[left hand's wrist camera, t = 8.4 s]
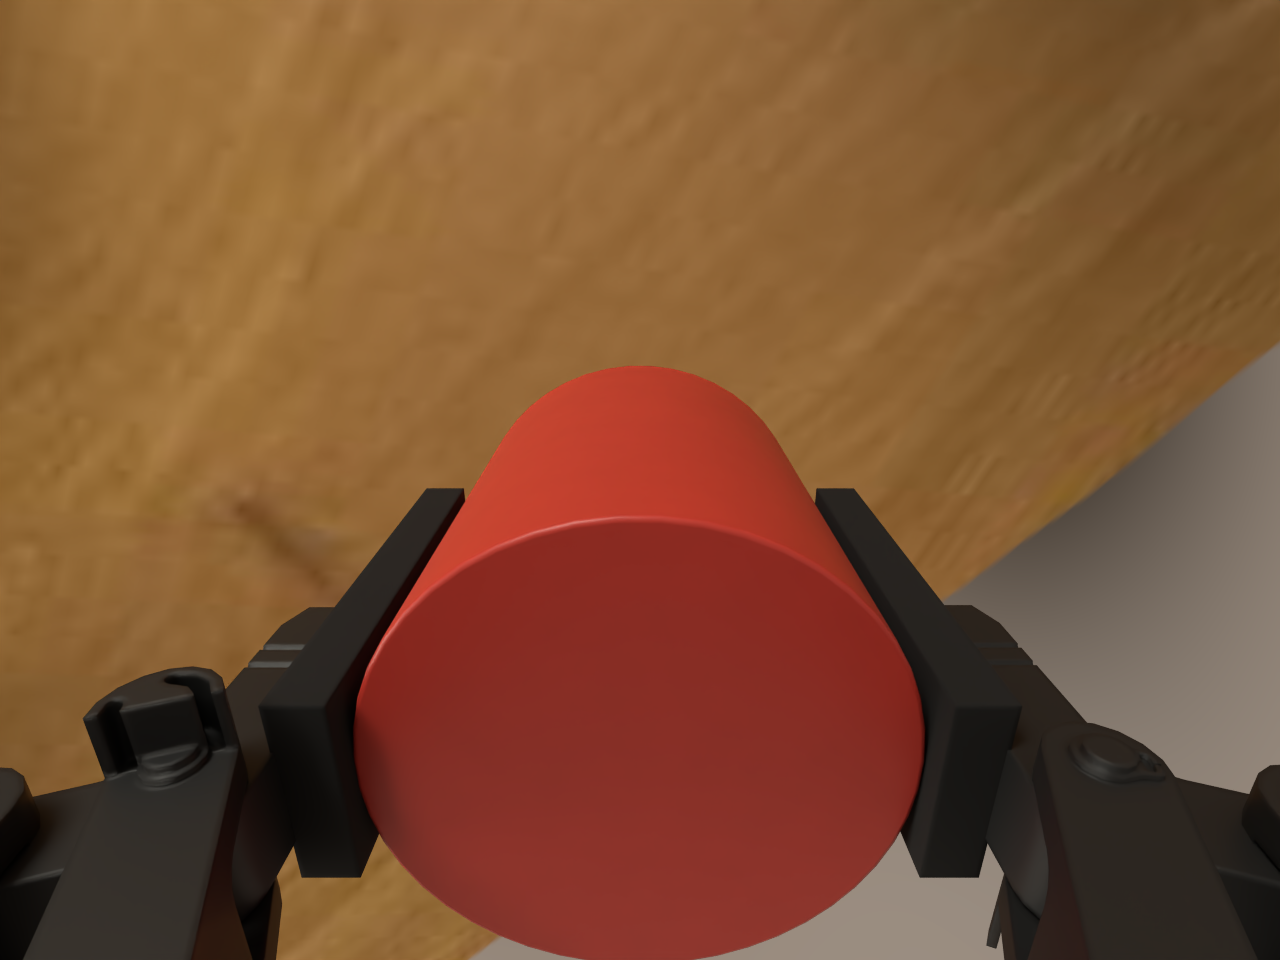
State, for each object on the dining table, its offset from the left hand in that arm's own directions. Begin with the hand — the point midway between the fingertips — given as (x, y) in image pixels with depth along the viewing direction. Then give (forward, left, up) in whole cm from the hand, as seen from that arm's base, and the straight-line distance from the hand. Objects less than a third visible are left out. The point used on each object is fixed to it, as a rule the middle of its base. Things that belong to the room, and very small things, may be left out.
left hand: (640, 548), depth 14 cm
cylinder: (0, 0, -2) cm, 2 cm away
